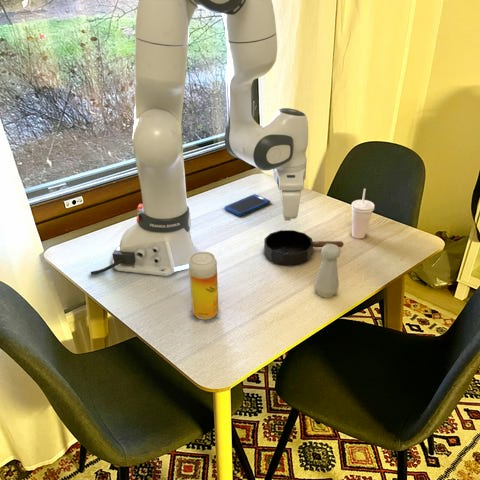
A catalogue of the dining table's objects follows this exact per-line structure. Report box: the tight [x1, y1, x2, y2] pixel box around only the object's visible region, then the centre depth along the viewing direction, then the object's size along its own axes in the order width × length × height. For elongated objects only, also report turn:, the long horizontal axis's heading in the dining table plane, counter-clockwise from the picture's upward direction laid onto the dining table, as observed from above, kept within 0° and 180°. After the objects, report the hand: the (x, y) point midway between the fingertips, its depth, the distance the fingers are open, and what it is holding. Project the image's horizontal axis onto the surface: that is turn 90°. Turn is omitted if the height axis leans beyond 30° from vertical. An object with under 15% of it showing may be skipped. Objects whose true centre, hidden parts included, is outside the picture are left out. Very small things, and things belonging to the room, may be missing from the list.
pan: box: [263, 229, 345, 267], centre depth 141 cm, size 21×13×4 cm, turn 90°
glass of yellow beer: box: [188, 251, 220, 321], centre depth 116 cm, size 6×6×15 cm
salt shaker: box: [314, 244, 341, 299], centre depth 123 cm, size 6×6×13 cm
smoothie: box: [350, 188, 376, 239], centre depth 145 cm, size 6×6×14 cm
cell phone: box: [224, 193, 271, 217], centre depth 165 cm, size 7×14×1 cm, turn 134°
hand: (287, 218), depth 148 cm, fingers closed
